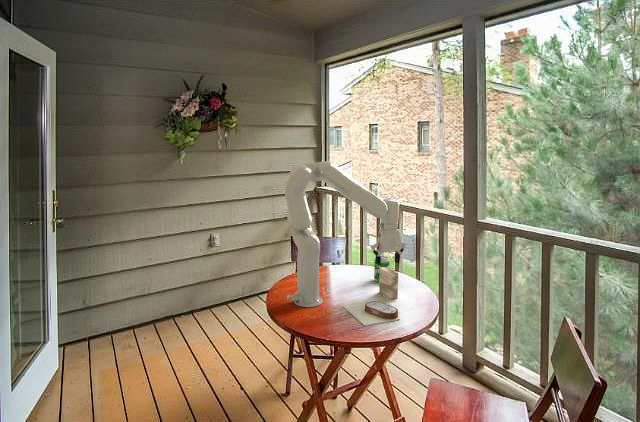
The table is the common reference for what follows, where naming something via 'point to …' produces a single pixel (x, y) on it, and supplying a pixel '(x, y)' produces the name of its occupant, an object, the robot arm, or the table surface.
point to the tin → (381, 310)
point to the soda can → (384, 263)
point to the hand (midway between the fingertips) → (387, 263)
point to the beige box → (388, 283)
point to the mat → (365, 315)
